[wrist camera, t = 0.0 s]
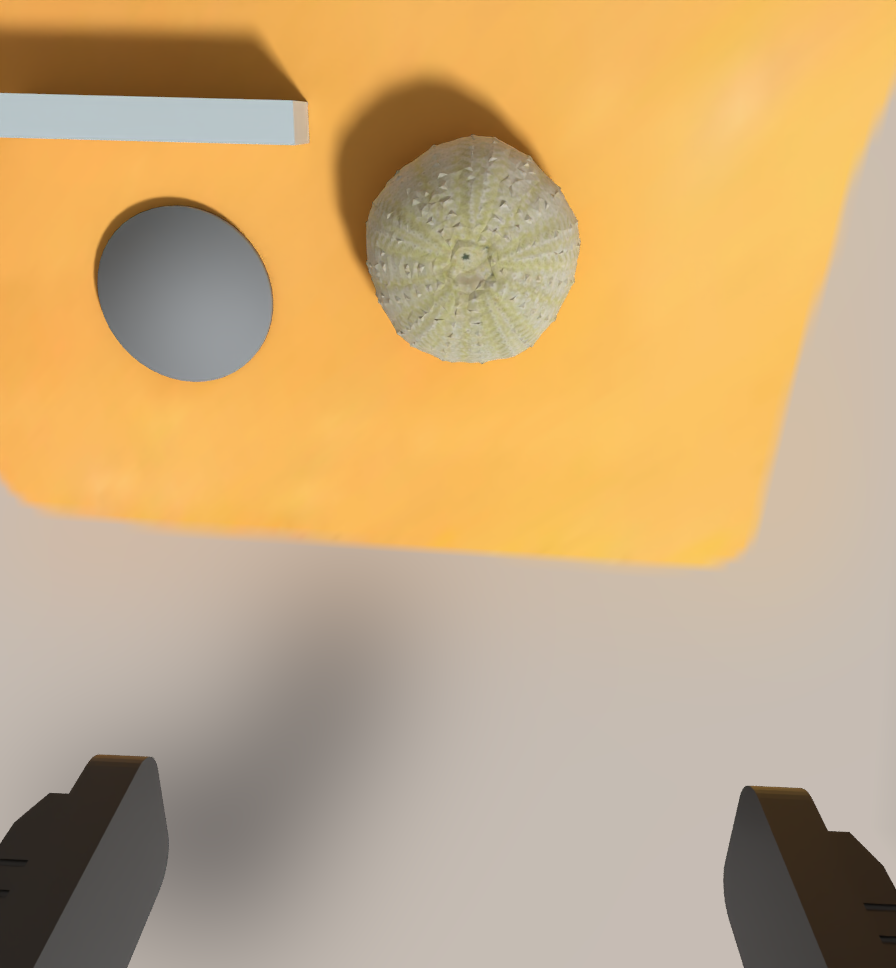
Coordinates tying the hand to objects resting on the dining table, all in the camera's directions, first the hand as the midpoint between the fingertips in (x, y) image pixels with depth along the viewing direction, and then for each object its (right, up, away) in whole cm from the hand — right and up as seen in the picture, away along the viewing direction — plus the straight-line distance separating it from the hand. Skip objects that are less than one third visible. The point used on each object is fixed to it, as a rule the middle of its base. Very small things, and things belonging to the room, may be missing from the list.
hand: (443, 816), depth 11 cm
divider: (-12, +20, +24) cm, 33 cm away
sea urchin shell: (+1, +15, +26) cm, 30 cm away
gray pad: (-12, +13, +27) cm, 32 cm away
